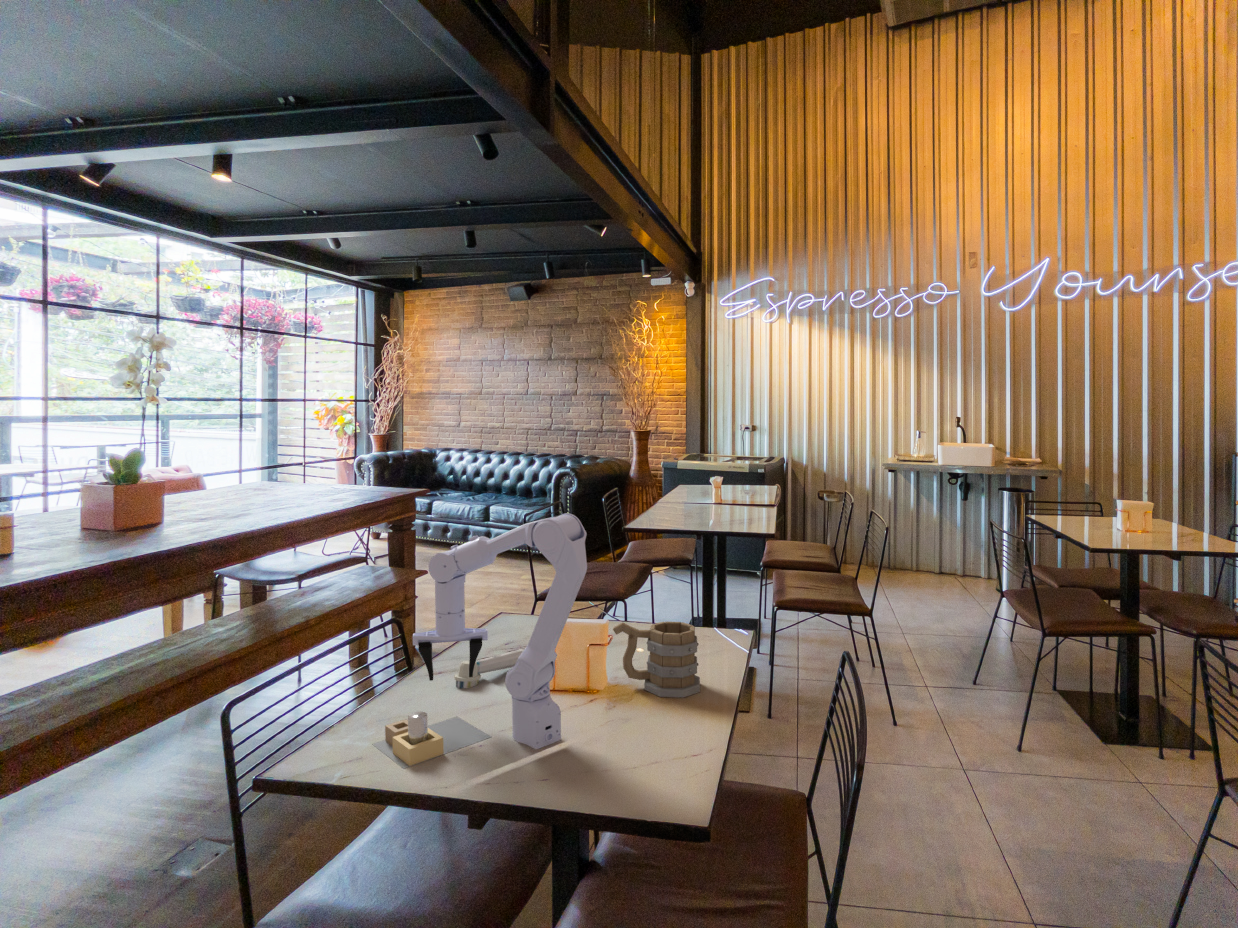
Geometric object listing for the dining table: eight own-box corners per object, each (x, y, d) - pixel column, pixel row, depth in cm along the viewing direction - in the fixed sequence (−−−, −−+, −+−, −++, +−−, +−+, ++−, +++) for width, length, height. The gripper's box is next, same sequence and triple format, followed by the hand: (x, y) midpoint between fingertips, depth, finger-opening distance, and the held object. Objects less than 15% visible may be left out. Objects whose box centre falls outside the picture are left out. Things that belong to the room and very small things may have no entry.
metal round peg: (431, 753, 127) (430, 715, 127) (413, 759, 125) (412, 720, 125) (423, 746, 130) (422, 709, 129) (405, 752, 127) (404, 714, 127)
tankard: (699, 678, 167) (699, 616, 166) (700, 698, 154) (700, 632, 153) (616, 675, 169) (616, 614, 168) (610, 695, 156) (610, 629, 155)
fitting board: (492, 740, 134) (491, 721, 134) (403, 772, 122) (403, 751, 121) (457, 719, 143) (456, 701, 143) (371, 747, 131) (371, 728, 131)
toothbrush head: (540, 648, 178) (466, 661, 158) (538, 674, 177) (464, 691, 157) (525, 644, 181) (451, 657, 161) (523, 670, 180) (448, 686, 160)
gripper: (486, 603, 145) (487, 667, 146) (413, 607, 142) (414, 673, 143) (487, 612, 138) (488, 679, 139) (411, 616, 135) (412, 685, 136)
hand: (451, 677), depth 140 cm, fingers open, 7 cm apart
